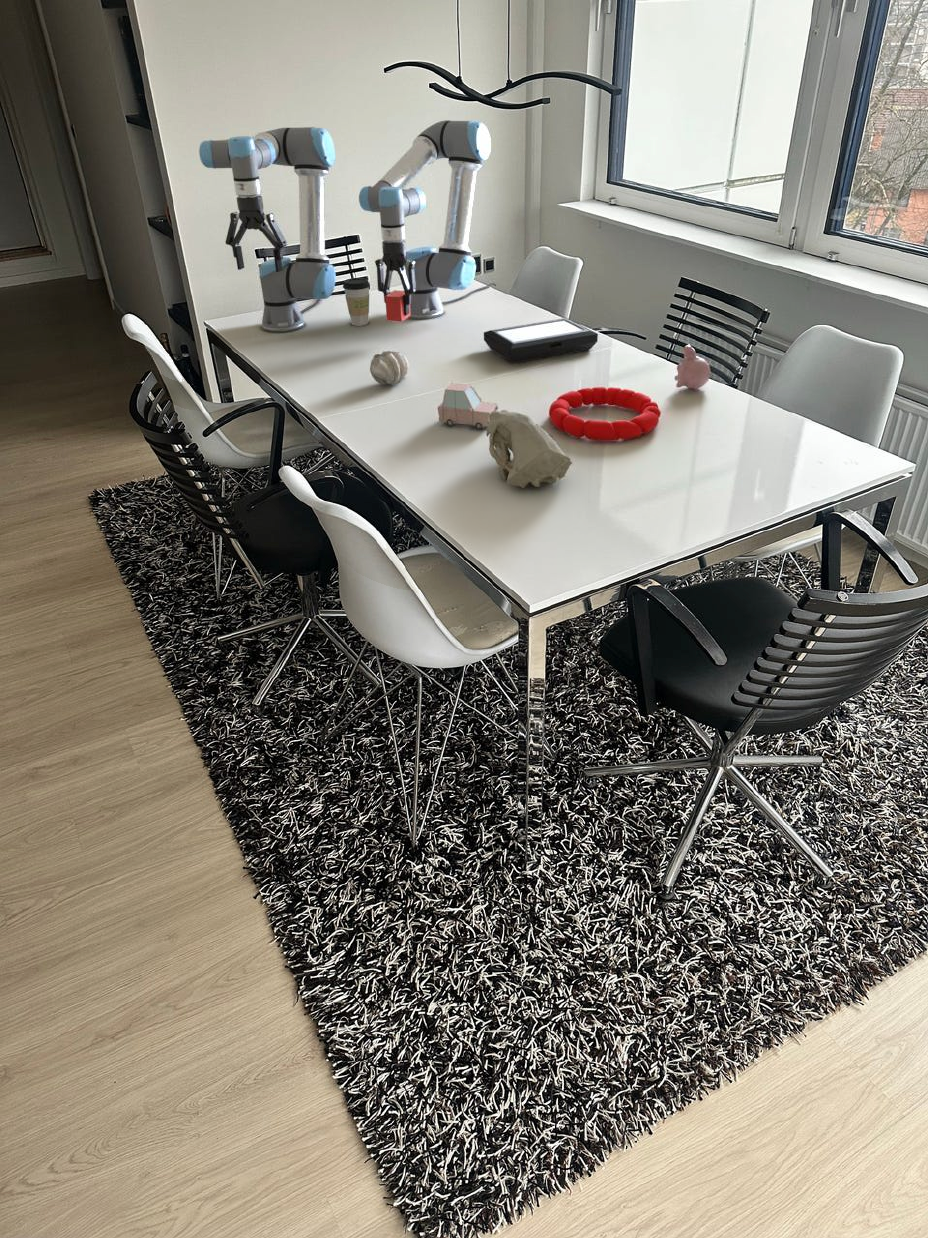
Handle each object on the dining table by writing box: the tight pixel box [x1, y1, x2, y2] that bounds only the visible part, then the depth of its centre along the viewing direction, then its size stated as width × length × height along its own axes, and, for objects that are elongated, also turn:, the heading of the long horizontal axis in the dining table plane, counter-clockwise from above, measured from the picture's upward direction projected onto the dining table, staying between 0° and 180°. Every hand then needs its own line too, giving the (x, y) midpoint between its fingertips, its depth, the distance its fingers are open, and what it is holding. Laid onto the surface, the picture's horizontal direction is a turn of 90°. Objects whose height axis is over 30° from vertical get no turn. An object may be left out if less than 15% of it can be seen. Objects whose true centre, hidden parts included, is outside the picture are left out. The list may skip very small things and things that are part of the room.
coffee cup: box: [342, 277, 371, 327], centre depth 323 cm, size 10×10×15 cm
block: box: [384, 289, 411, 323], centre depth 299 cm, size 6×8×8 cm
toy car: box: [437, 382, 499, 431], centre depth 243 cm, size 9×15×10 cm, turn 70°
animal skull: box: [485, 409, 573, 489], centre depth 216 cm, size 17×25×20 cm
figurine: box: [674, 344, 711, 390], centre depth 259 cm, size 9×11×12 cm
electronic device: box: [483, 317, 599, 364], centre depth 294 cm, size 32×6×20 cm
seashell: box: [369, 350, 409, 385], centre depth 270 cm, size 10×15×10 cm
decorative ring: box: [548, 386, 661, 442], centre depth 242 cm, size 7×30×30 cm
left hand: (260, 269), depth 278 cm, fingers open, 13 cm apart
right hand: (398, 313), depth 300 cm, fingers closed on block, 5 cm apart
